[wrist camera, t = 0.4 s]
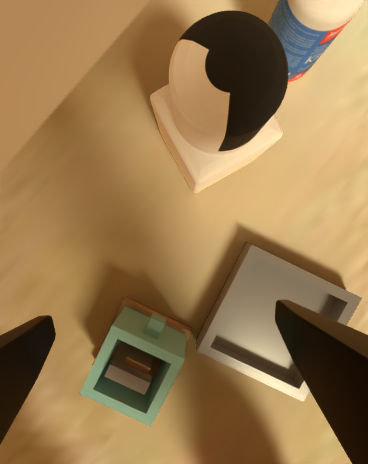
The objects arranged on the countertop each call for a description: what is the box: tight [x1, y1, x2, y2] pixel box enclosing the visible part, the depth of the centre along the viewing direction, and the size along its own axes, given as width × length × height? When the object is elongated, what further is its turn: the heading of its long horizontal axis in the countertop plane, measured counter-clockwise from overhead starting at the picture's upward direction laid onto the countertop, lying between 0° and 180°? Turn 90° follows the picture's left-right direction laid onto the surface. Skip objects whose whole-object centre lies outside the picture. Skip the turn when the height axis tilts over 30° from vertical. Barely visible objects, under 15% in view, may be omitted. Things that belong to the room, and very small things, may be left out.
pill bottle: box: [268, 0, 365, 84], centre depth 16 cm, size 6×5×10 cm
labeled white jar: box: [150, 11, 289, 193], centre depth 16 cm, size 7×7×12 cm
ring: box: [80, 306, 186, 426], centre depth 21 cm, size 9×7×4 cm
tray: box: [196, 242, 362, 401], centre depth 22 cm, size 12×12×2 cm
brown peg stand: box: [92, 297, 192, 395], centre depth 21 cm, size 8×8×5 cm
